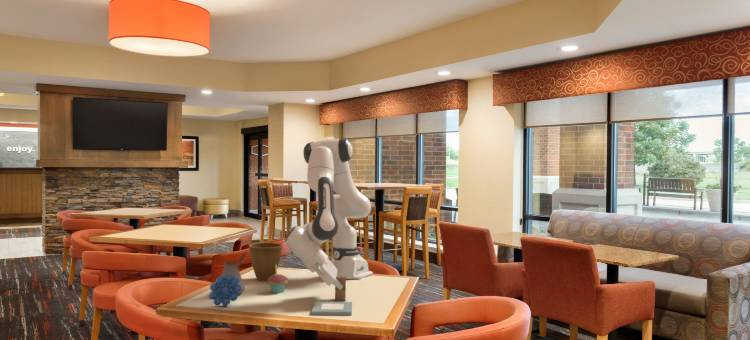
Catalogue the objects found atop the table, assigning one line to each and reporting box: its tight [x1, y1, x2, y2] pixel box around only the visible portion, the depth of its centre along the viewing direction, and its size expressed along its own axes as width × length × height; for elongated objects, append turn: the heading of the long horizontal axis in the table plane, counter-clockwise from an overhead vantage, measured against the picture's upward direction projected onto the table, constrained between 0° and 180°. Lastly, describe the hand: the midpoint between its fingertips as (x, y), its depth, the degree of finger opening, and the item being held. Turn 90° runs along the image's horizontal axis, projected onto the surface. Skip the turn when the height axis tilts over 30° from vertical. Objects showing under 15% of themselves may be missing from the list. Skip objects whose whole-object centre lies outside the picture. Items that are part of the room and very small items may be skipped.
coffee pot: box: [220, 251, 250, 296], centre depth 224 cm, size 21×12×15 cm, turn 170°
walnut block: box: [334, 276, 347, 302], centre depth 213 cm, size 4×4×9 cm
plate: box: [311, 301, 353, 316], centre depth 198 cm, size 14×14×1 cm
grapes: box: [208, 274, 241, 307], centre depth 202 cm, size 12×7×12 cm, turn 98°
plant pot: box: [248, 242, 283, 282], centre depth 249 cm, size 15×15×16 cm
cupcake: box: [266, 265, 289, 294], centre depth 226 cm, size 9×8×12 cm
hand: (342, 286), depth 213 cm, fingers closed on walnut block, 4 cm apart
